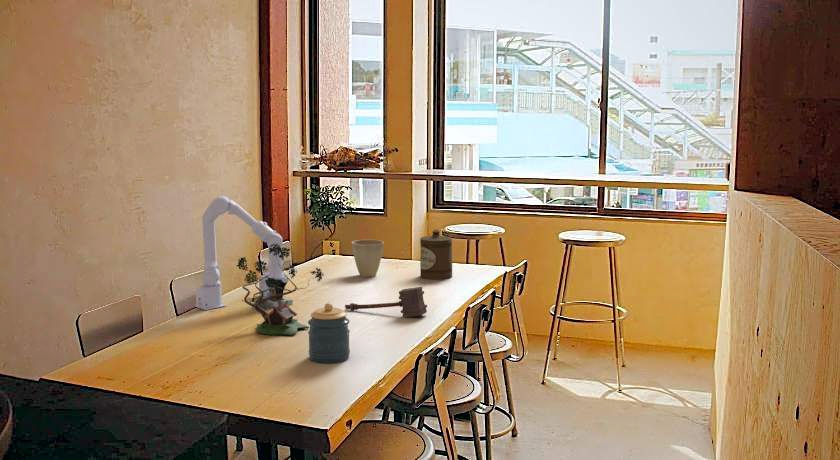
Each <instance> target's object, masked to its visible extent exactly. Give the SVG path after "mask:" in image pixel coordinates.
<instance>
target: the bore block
mask: <svg viewBox="0 0 840 460" xmlns="http://www.w3.org/2000/svg"><path fill="white" fill-rule="evenodd" d="M286 300H287V301H288V303H287V305H288V306H293V304H294V303H293V302H294V301H293V299H291V298H288V297H284V296H283V300H281V301H283V303H282V305H283V304H284V303H285V302H286ZM273 306H274V307H275V306H276V307H278V303H277V301H276V302H274V301H271V299H270V300H267V308H271V309H273Z"/></svg>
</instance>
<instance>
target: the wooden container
mask: <svg viewBox="0 0 840 460" xmlns="http://www.w3.org/2000/svg"><path fill="white" fill-rule="evenodd" d="M440 233H441V231H440V230H439V229H433V231H432V233H431V234H432V235H427V236H422V237H420V243H419V244H420V261H419V262H420V263H419V264H420V269H419V270H420V278H422V279H425V280H437V281H438V280H447V279H451V278H452V277H453V239H452V237H451V236H446V235H445V236H444V235H441V234H440Z"/></svg>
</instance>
